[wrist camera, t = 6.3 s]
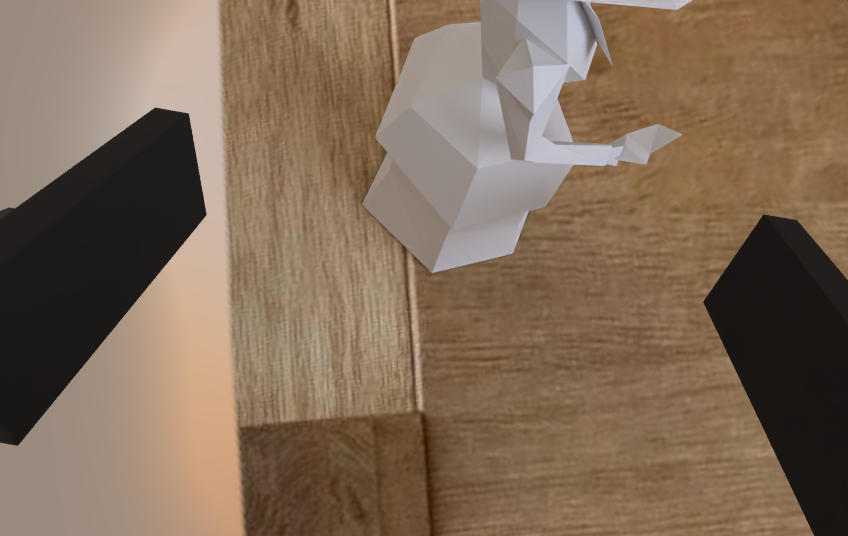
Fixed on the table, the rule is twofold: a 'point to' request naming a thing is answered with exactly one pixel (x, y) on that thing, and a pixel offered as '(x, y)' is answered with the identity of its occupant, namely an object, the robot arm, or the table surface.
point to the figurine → (490, 128)
